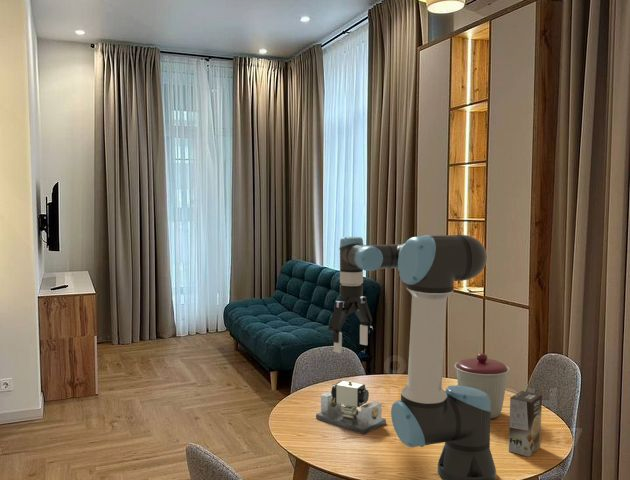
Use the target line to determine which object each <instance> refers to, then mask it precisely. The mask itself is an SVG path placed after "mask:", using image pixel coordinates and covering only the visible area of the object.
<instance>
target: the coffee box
mask: <svg viewBox="0 0 630 480" xmlns="http://www.w3.org/2000/svg"><path fill="white" fill-rule="evenodd" d="M542 403H543V394H540V393H535V392H530V391H524V390H521V391H519V392H517V393H516V394H514V395H513V396H510V398H509V424H508V425H509V429H508V430H509V433H508V452H510V453H514V454H517V455H521V456H525V457H531V456H532V455H533V454H534V453H536V451H537V449H538V450H539V449H540V448H541V438H542V437H541V436H542V435H541V432H542Z"/></svg>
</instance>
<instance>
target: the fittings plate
mask: <svg viewBox="0 0 630 480" xmlns="http://www.w3.org/2000/svg"><path fill="white" fill-rule="evenodd" d="M382 406H383V405H382V402H379V401H375V400H373V401H371V402H367V403H365V404H363V405H362V406H360V410H358V416H356V417H354V418H353V419H350V418H345V417H343V416H342V415H343V414H342V413H341V410H342V407H345V406H344V405H342V404H339V403H335V400H334V398H333V397H332V395H331V390H329V391H328V392H326V393H321V395H320V412H317V413H316V414H315V418H316V420H319V421H323V422H326V423H329V424H332V425H335V426H337V427H341V428H344V429H346V430H350V431H352V432H355V433H358V434H362V435H365V434H367V433H369V432H371V431H373V430H375V429H377V428H380V427H383V426H384V425H385V424H386V423H387V419H386V418H384V417H382Z"/></svg>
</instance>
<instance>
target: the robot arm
mask: <svg viewBox="0 0 630 480" xmlns="http://www.w3.org/2000/svg"><path fill="white" fill-rule="evenodd" d="M338 250H339V283H340V284H339V296H340V297H341V300H335V302H334V308H333V312H332V316H331V318H330V322H329V324H328V328H327V330H328V331H329V332H332V343H333V352H334V353H338V354H342V353H343V347H342V345H343V332H341V331H342V328H343V326H344V325H345V322H346V320H347V317H348V316H350V315H351V314H353V313H354V314H355V315H356V317H357V318H358V320H359V322H360V325H359V345H363V346H368V343H369V342H368V338H369V336H368V335H369V326H371V325H372V323H373V318H372V314H371V311H370V308H369V305H368V299H367V298H368V297H367V296H363V295H364V293H363V291H364V287H363V286H364V285H363V283H364V271H366V272H368V271H369V272H373V271H376V270H384V269H397V270H398V272H399V274H398V276H399V278H400V279H401V281H402V282H403V283H404V284H406V285H405V286H406V287H405V288H406V290H407V291H408V292H409V293H410V295H411V306H410V328H409V329H410V330H409V347H408V348H409V349H408V367H407V368H408V369H407V371H408V372H407V384H406V385H405V386H404V387H403V388H402V389H401V392H400V393H401V395H400V400H396V401H394V402H393V403H392V405H391V410H390V417H391V422H392V426H393V428H394V431H395V433H396V435H397V437H398V439H399V441H400V442H401V443H402V444H403V445H404V446H406V447H408V448H415V447H416V448H417V447H421V448H423V447H425V446H430V445H435V444H441V443H442V444H443V443H444V445H443V447H442V450H441V454H440V456H439V458H438V462H437V474H438V476H439V477H440V478H441V479H443V480H496V478H497V468H496V464H495V461H494V459H493V454H492V452H491V449H490V447H491V446H490V445H491V443H490V442H491V419H490V415H491V405H490V398H489V396H488V395H487V394H486V393H485V392H483V391H481V390H478V389H475V388H471V387H466V386H458V384H457V385H448V386H447V387H446V388H445V390H444V389H443V388H442V387H443V371H444V369H443V368H444V367H443V366H444V352H445V351H444V350H445V333H446V317H447V316H446V315H447V299H448V297H449V296H450V295H452V294H453V293H454V289H455V288H454V287H455V286H454V285H455V282H461V281H463V282H464V281H468V280H471V279H474V278H476V277H477V276H478V275H480V274H481V273H482V271H484V269H485V267H486V264H487V260H488V258H487V257H488V256H487V255H488V254H487V250H486V248H485V246H484V245H483V243H482V242H481V241H480V240H478V239H477V238H475V237H474V236H471V235H465V234H452V235H451V234H449V235H447V234H445V235H443V234H441V235H439V234H437V235H436V234H435V235H434V234H433V235H432V234H431V235H427V234H425V235H421V236H412V237H410V238H409V239H407V240H406V241H405V243H403V244H402V243H399V244H397V243H396V244H370V245H368V244H367V245H366V244H364V239H363V238H362V237H360V236H343V237H341V238H340V240H339V249H338Z"/></svg>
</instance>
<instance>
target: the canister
mask: <svg viewBox="0 0 630 480" xmlns="http://www.w3.org/2000/svg"><path fill="white" fill-rule="evenodd" d="M454 369H456V379H457V380H456V381H457V385H458V386H466V387H471V388H475V389H478V390H481V391H483V392H485V393H486V394H487V395H488V396H489V398H490V405H491V415H490V420H491V419H495V418H498V416H500V415H501V413H502V410H503V406H504V400H505V394H506V387H507V386H506V385H507V378H508V374H509V372H510V370H511V369H510V367H509V366H507V365H506V364H505V363H503V362H501V361H499V360H495V359H493V358H492V359H491V358H488V356H487V354H486V353H483V352H479V353H477V355H476V357H467V358H463V359H461V360H459V361H457V362H455V364H454Z"/></svg>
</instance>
